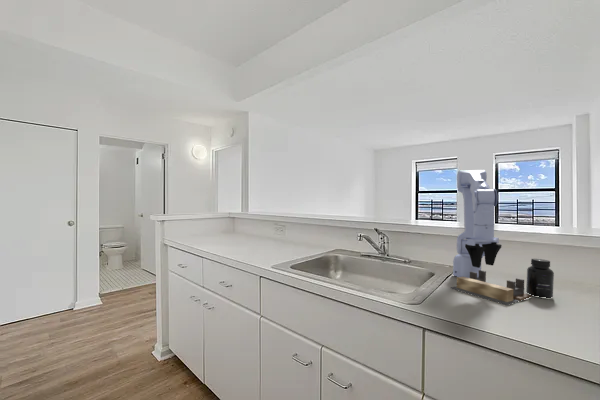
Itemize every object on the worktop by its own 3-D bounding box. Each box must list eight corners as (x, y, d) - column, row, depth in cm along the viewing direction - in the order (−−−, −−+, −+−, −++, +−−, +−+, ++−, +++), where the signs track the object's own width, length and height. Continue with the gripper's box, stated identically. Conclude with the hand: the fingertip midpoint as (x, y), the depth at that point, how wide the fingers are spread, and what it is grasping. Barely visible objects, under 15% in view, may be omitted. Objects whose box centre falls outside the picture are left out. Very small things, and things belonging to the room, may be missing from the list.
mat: (450, 288, 100) (450, 287, 100) (462, 285, 104) (462, 284, 104) (507, 305, 85) (507, 304, 85) (519, 301, 88) (519, 300, 88)
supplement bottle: (543, 300, 90) (543, 262, 90) (521, 293, 96) (521, 258, 96) (558, 298, 92) (559, 261, 92) (536, 292, 98) (536, 257, 98)
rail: (456, 287, 100) (456, 277, 100) (462, 286, 102) (462, 276, 102) (507, 302, 86) (507, 290, 86) (513, 300, 88) (513, 289, 88)
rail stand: (463, 285, 104) (463, 270, 104) (474, 283, 107) (475, 268, 107) (520, 301, 88) (520, 283, 88) (531, 298, 91) (531, 281, 91)
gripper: (483, 226, 88) (482, 270, 88) (508, 225, 95) (508, 266, 95) (461, 224, 94) (460, 265, 94) (486, 223, 101) (485, 262, 101)
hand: (483, 265), depth 95 cm, fingers open, 7 cm apart
